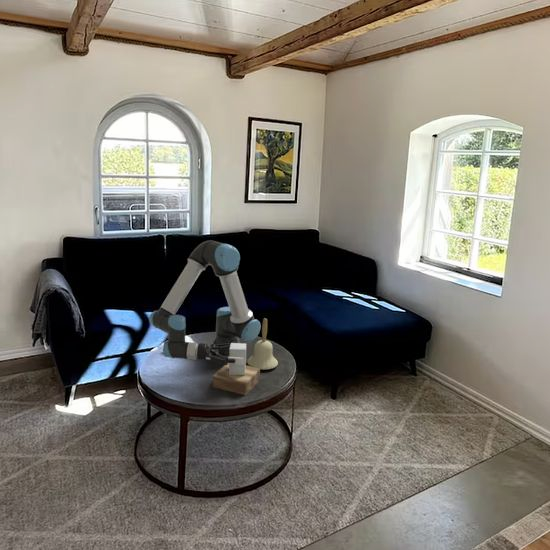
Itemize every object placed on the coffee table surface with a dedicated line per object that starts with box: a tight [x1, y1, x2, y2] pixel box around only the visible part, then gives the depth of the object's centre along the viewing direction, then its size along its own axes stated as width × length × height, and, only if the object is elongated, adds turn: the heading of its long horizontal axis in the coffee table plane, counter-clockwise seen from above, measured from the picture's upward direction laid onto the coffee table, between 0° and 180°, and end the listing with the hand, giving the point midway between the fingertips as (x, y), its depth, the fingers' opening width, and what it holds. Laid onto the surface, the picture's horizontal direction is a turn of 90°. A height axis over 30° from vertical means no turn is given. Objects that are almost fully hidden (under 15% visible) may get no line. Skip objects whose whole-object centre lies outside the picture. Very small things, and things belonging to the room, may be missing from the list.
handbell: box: [246, 317, 279, 370], centre depth 244 cm, size 15×15×25 cm
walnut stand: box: [212, 363, 261, 396], centre depth 225 cm, size 16×16×6 cm
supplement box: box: [228, 342, 247, 375], centre depth 223 cm, size 7×7×13 cm
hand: (244, 354), depth 222 cm, fingers open, 13 cm apart
